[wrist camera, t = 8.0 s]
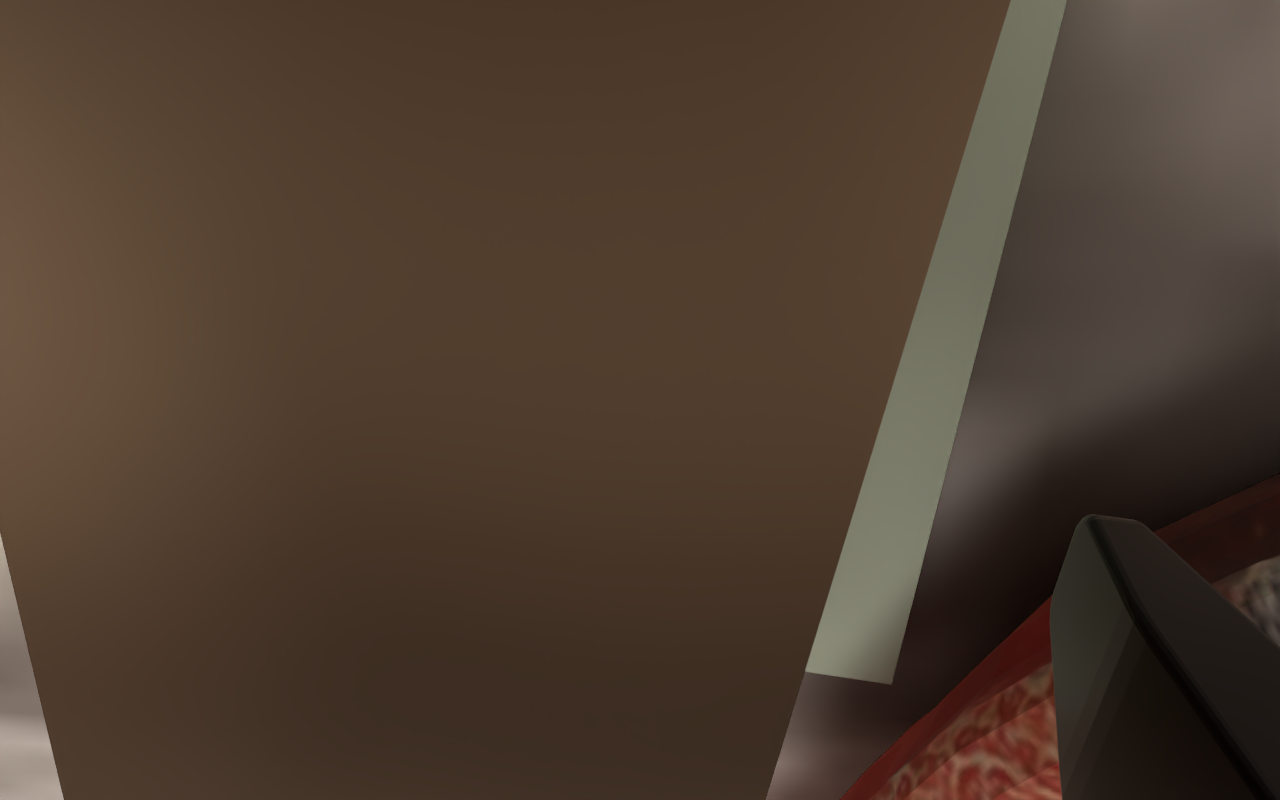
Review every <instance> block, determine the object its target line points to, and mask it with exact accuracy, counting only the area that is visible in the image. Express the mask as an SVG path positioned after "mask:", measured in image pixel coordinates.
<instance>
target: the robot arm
mask: <svg viewBox="0 0 1280 800" xmlns="http://www.w3.org/2000/svg"><path fill="white" fill-rule="evenodd" d="M1050 635H1051V651H1052V666H1053V681H1054V696H1055V711H1056V727H1057V742H1058V757H1059V771H1060V783H1061V794H1062V800H1280V646H1279V645H1278V644H1276V643H1275V642H1274V641H1273V640H1272V639H1271V638H1270V637H1269V636H1268V635H1267V634H1265V633H1264V632H1263V631H1262V630H1261V629H1260V628H1259V627H1258V626H1257V625H1255V624H1254V623H1253V622H1252V621H1251V620H1250V619H1249V618H1248V617H1247V616H1245V615H1244V614H1243V613H1242V612H1241V611H1240V610H1239V609H1238V608H1237V607H1235V606H1234V605H1233V604H1232V603H1231V602H1230V601H1229V600H1228V599H1227V598H1225V597H1224V596H1223V595H1222V594H1221V593H1220V592H1219V591H1218V590H1217V589H1216V588H1214V587H1213V586H1212V585H1211V584H1210V583H1209V582H1208V581H1207V580H1206V579H1204V578H1203V577H1202V576H1201V575H1200V574H1199V573H1198V572H1197V571H1196V570H1194V569H1193V568H1192V567H1191V566H1190V565H1189V564H1188V563H1187V562H1186V561H1184V560H1183V559H1182V558H1181V557H1180V556H1179V555H1178V554H1177V553H1176V552H1174V551H1173V550H1172V549H1171V548H1170V547H1169V546H1168V545H1167V544H1166V543H1165V542H1163V541H1162V540H1161V539H1160V538H1159V537H1158V536H1157V535H1156V534H1155V533H1153V532H1152V531H1151V530H1150V529H1149V528H1148V527H1147V526H1145V525H1144V524H1143V523H1141V522H1139V521H1137V520H1133V519H1125V518H1118V517H1110V516H1102V515H1095V514H1090V515H1088V516H1085V517H1084V518H1082V519H1081V521H1080V522H1079V524H1078V525H1077V527H1076V529H1075V532H1074V534H1073V537H1072V540H1071V543H1070V546H1069V549H1068V552H1067V555H1066V557H1065V560H1064V563H1063V566H1062V569H1061V572H1060V575H1059V578H1058V580H1057V583H1056V586H1055V589H1054V592H1053V596H1052V601H1051V608H1050Z"/></svg>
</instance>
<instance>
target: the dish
mask: <svg viewBox="0 0 1280 800" xmlns="http://www.w3.org/2000/svg"><path fill="white" fill-rule="evenodd" d="M1153 533H1155V534H1156V535H1157V536H1158V537H1159V538H1160V539H1161V540H1162V541H1163V542H1165V543H1166V544H1167V545H1168V546H1169V547H1170V548H1171V549H1172V550H1173V551H1174V552H1176V553H1177V554H1178V555H1179V556H1180V557H1181V558H1182V559H1183V560H1184V561H1186V562H1187V563H1188V564H1189V565H1190V566H1191V567H1192V568H1193V569H1194V570H1196V571H1197V572H1198V573H1199V574H1200V575H1201V576H1202V577H1203V578H1204V579H1206V580H1207V581H1208V582H1209V583H1210V584H1211V585H1212V586H1213V587H1214V588H1216V589H1217V590H1218V591H1219V592H1220V593H1221V594H1222V595H1223V596H1224V597H1225V598H1227V599H1228V600H1229V601H1230V602H1231V603H1232V604H1233V605H1234V606H1235V607H1237V608H1238V609H1239V610H1240V611H1241V612H1242V613H1243V614H1244V615H1245V616H1247V617H1248V618H1249V619H1250V620H1251V621H1252V622H1253V623H1254V624H1255V625H1257V626H1258V627H1259V628H1260V629H1261V630H1262V631H1263V632H1264V633H1265V634H1267V635H1268V636H1269V637H1270V638H1271V639H1272V640H1273V641H1274V642H1275V643H1276V644H1278V645H1279V646H1280V473H1279V474H1277V475H1275V476H1273V477H1270V478H1268V479H1266V480H1264V481H1262V482H1260V483H1258V484H1255V485H1253V486H1251V487H1249V488H1247V489H1245V490H1242V491H1240V492H1238V493H1236V494H1234V495H1232V496H1230V497H1227V498H1225V499H1223V500H1221V501H1219V502H1217V503H1214V504H1212V505H1210V506H1208V507H1206V508H1204V509H1202V510H1199V511H1197V512H1195V513H1193V514H1191V515H1189V516H1186V517H1184V518H1182V519H1180V520H1178V521H1176V522H1174V523H1171V524H1169V525H1167V526H1165V527H1163V528H1161V529H1159V530H1156V531H1154V532H1153ZM1052 596H1053V595H1052ZM1052 596H1051V597H1049V598H1048V599H1047V600H1046V601H1045V602H1044V603H1043V604H1042V605H1041V606H1040V607H1039V608H1038V609H1037V610H1036V611H1035V612H1034V613H1033V614H1031V615H1030V616H1029V617H1028V618H1027V619H1026V620H1025V621H1024V622H1023V623H1022V624H1021V625H1020V626H1019V627H1018V628H1017V629H1016V630H1015V631H1013V632H1012V633H1011V634H1010V635H1009V636H1008V637H1007V638H1006V639H1005V640H1004V641H1003V642H1002V643H1001V644H1000V645H999V646H998V647H997V648H996V649H994V650H993V651H992V652H991V653H990V654H989V655H988V656H987V657H986V658H985V659H984V660H983V661H982V662H981V663H980V664H979V665H978V666H977V667H976V668H975V669H973V670H972V671H971V672H970V673H969V674H968V675H967V676H966V677H965V678H964V679H963V680H962V681H961V682H960V683H959V684H958V685H957V686H956V687H955V688H954V689H953V690H951V691H950V692H949V693H948V694H947V695H946V696H945V697H944V698H943V700H942V701H941V702H940V703H939V704H938V705H937V706H936V707H935V708H934V709H933V710H931V711H930V712H929V713H927V714H926V715H925V716H923V717H922V718H921V719H919V720H918V721H917V722H915V723H914V724H913V725H912V726H911V727H910V728H909V729H908V730H907V731H906V732H905V733H904V734H903V735H902V736H901V737H900V738H899V739H898V740H897V741H896V742H895V743H894V744H893V745H892V746H891V747H890V748H889V749H888V750H887V751H886V752H885V753H884V754H883V755H882V756H881V757H880V758H879V759H877V760H876V761H875V762H874V763H873V764H872V765H871V766H870V767H869V768H868V769H867V770H866V771H865V772H864V773H863V774H862V776H861V777H860V778H859V779H858V780H857V781H856V782H855V783H854V784H853V786H852V787H851V788H850V789H849V790H848V791H847V792H846V793H845V794H844V796H843V797H842V798H841V799H840V800H1062V794H1061V783H1060V771H1059V757H1058V742H1057V727H1056V711H1055V696H1054V681H1053V666H1052V651H1051V635H1050V608H1051V601H1052Z"/></svg>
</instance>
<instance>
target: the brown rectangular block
mask: <svg viewBox="0 0 1280 800" xmlns="http://www.w3.org/2000/svg"><path fill="white" fill-rule="evenodd" d="M1010 1H1011V0H0V533H1V537H2V542H3V546H4V550H5V554H6V558H7V563H8V567H9V571H10V575H11V579H12V584H13V588H14V592H15V596H16V600H17V604H18V609H19V613H20V617H21V621H22V625H23V630H24V634H25V638H26V642H27V646H28V651H29V655H30V659H31V663H32V667H33V672H34V676H35V680H36V684H37V688H38V693H39V697H40V701H41V705H42V709H43V713H44V718H45V722H46V726H47V730H48V734H49V739H50V743H51V747H52V751H53V755H54V760H55V764H56V768H57V772H58V776H59V781H60V785H61V789H62V793H63V797H64V800H766V796H767V793H768V790H769V787H770V783H771V780H772V777H773V774H774V770H775V767H776V764H777V761H778V757H779V754H780V751H781V748H782V744H783V741H784V738H785V734H786V731H787V728H788V725H789V721H790V718H791V715H792V712H793V708H794V705H795V702H796V699H797V695H798V692H799V689H800V686H801V682H802V679H803V676H804V673H805V669H806V666H807V663H808V660H809V656H810V653H811V650H812V646H813V643H814V640H815V637H816V633H817V630H818V627H819V624H820V620H821V617H822V614H823V611H824V607H825V604H826V601H827V598H828V594H829V591H830V588H831V585H832V581H833V578H834V575H835V572H836V568H837V565H838V562H839V558H840V555H841V552H842V549H843V545H844V542H845V539H846V536H847V532H848V529H849V526H850V523H851V519H852V516H853V513H854V510H855V506H856V503H857V500H858V497H859V493H860V490H861V487H862V484H863V480H864V477H865V474H866V471H867V467H868V464H869V461H870V457H871V454H872V451H873V448H874V444H875V441H876V438H877V435H878V431H879V428H880V425H881V422H882V418H883V415H884V412H885V409H886V405H887V402H888V399H889V396H890V392H891V389H892V386H893V383H894V379H895V376H896V373H897V369H898V366H899V363H900V360H901V356H902V353H903V350H904V347H905V343H906V340H907V337H908V334H909V330H910V327H911V324H912V321H913V317H914V314H915V311H916V308H917V304H918V301H919V298H920V295H921V291H922V288H923V285H924V282H925V278H926V275H927V272H928V268H929V265H930V262H931V259H932V255H933V252H934V249H935V246H936V242H937V239H938V236H939V233H940V229H941V226H942V223H943V220H944V216H945V213H946V210H947V207H948V203H949V200H950V197H951V194H952V190H953V187H954V184H955V180H956V177H957V174H958V171H959V167H960V164H961V161H962V158H963V154H964V151H965V148H966V145H967V141H968V138H969V135H970V132H971V128H972V125H973V122H974V119H975V115H976V112H977V109H978V106H979V102H980V99H981V96H982V92H983V89H984V86H985V83H986V79H987V76H988V73H989V70H990V66H991V63H992V60H993V57H994V53H995V50H996V47H997V44H998V40H999V37H1000V34H1001V31H1002V27H1003V24H1004V21H1005V18H1006V14H1007V11H1008V8H1009V4H1010Z"/></svg>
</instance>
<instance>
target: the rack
mask: <svg viewBox="0 0 1280 800" xmlns="http://www.w3.org/2000/svg"><path fill="white" fill-rule="evenodd" d="M1066 3H1067V0H1011V1H1010V4H1009V8H1008V11H1007V14H1006V18H1005V21H1004V24H1003V27H1002V31H1001V34H1000V37H999V40H998V44H997V47H996V50H995V53H994V57H993V60H992V63H991V66H990V70H989V73H988V76H987V79H986V83H985V86H984V89H983V92H982V96H981V99H980V102H979V106H978V109H977V112H976V115H975V119H974V122H973V125H972V128H971V132H970V135H969V138H968V141H967V145H966V148H965V151H964V154H963V158H962V161H961V164H960V167H959V171H958V174H957V177H956V180H955V184H954V187H953V190H952V194H951V197H950V200H949V203H948V207H947V210H946V213H945V216H944V220H943V223H942V226H941V229H940V233H939V236H938V239H937V242H936V246H935V249H934V252H933V255H932V259H931V262H930V265H929V268H928V272H927V275H926V278H925V282H924V285H923V288H922V291H921V295H920V298H919V301H918V304H917V308H916V311H915V314H914V317H913V321H912V324H911V327H910V330H909V334H908V337H907V340H906V343H905V347H904V350H903V353H902V356H901V360H900V363H899V366H898V369H897V373H896V376H895V379H894V383H893V386H892V389H891V392H890V396H889V399H888V402H887V405H886V409H885V412H884V415H883V418H882V422H881V425H880V428H879V431H878V435H877V438H876V441H875V444H874V448H873V451H872V454H871V457H870V461H869V464H868V467H867V471H866V474H865V477H864V480H863V484H862V487H861V490H860V493H859V497H858V500H857V503H856V506H855V510H854V513H853V516H852V519H851V523H850V526H849V529H848V532H847V536H846V539H845V542H844V545H843V549H842V552H841V555H840V558H839V562H838V565H837V568H836V572H835V575H834V578H833V581H832V585H831V588H830V591H829V594H828V598H827V601H826V604H825V607H824V611H823V614H822V617H821V620H820V624H819V627H818V630H817V633H816V637H815V640H814V643H813V646H812V650H811V653H810V656H809V660H808V663H807V666H806V669H805V672H810V673H817V674H824V675H830V676H837V677H844V678H851V679H857V680H864V681H871V682H878V683H884V684H892V680H893V676H894V672H895V668H896V665H897V661H898V657H899V653H900V649H901V645H902V641H903V637H904V633H905V630H906V626H907V622H908V618H909V614H910V610H911V606H912V602H913V598H914V595H915V591H916V587H917V583H918V579H919V575H920V571H921V567H922V563H923V560H924V556H925V552H926V548H927V544H928V540H929V536H930V532H931V528H932V524H933V521H934V517H935V513H936V509H937V505H938V501H939V497H940V493H941V489H942V486H943V482H944V478H945V474H946V470H947V466H948V462H949V458H950V454H951V451H952V447H953V443H954V439H955V435H956V431H957V427H958V423H959V419H960V416H961V412H962V408H963V404H964V400H965V396H966V392H967V388H968V384H969V381H970V377H971V373H972V369H973V365H974V361H975V357H976V353H977V349H978V345H979V342H980V338H981V334H982V330H983V326H984V322H985V318H986V314H987V310H988V307H989V303H990V299H991V295H992V291H993V287H994V283H995V279H996V275H997V272H998V268H999V264H1000V260H1001V256H1002V252H1003V248H1004V244H1005V240H1006V237H1007V233H1008V229H1009V225H1010V221H1011V217H1012V213H1013V209H1014V205H1015V201H1016V198H1017V194H1018V190H1019V186H1020V182H1021V178H1022V174H1023V170H1024V166H1025V163H1026V159H1027V155H1028V151H1029V147H1030V143H1031V139H1032V135H1033V131H1034V128H1035V124H1036V120H1037V116H1038V112H1039V108H1040V104H1041V100H1042V96H1043V93H1044V89H1045V85H1046V81H1047V77H1048V73H1049V69H1050V65H1051V61H1052V57H1053V54H1054V50H1055V46H1056V42H1057V38H1058V34H1059V30H1060V26H1061V22H1062V19H1063V15H1064V11H1065V7H1066Z"/></svg>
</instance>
